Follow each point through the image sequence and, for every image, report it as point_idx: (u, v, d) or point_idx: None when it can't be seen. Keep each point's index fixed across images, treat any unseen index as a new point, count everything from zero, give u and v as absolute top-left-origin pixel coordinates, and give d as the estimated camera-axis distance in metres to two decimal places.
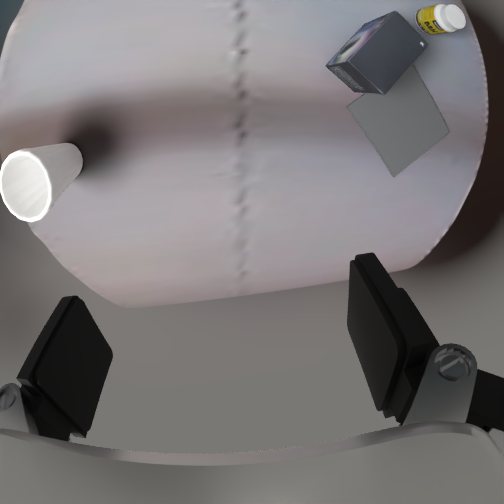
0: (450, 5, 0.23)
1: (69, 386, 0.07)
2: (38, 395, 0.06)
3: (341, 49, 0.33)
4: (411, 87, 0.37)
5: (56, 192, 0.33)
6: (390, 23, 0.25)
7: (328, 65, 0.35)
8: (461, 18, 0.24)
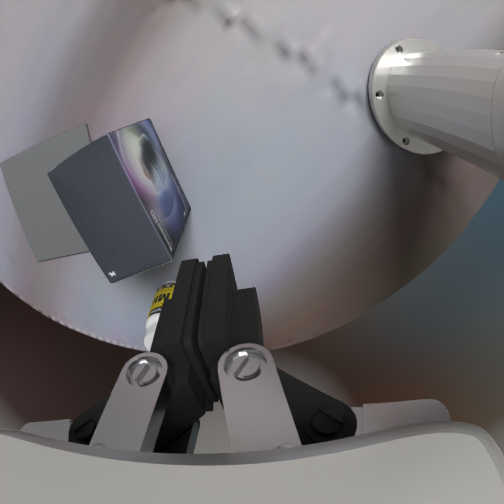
0: None
1: None
2: (183, 362, 0.07)
3: (158, 148, 0.25)
4: None
5: None
6: (151, 239, 0.21)
7: (145, 120, 0.25)
8: None
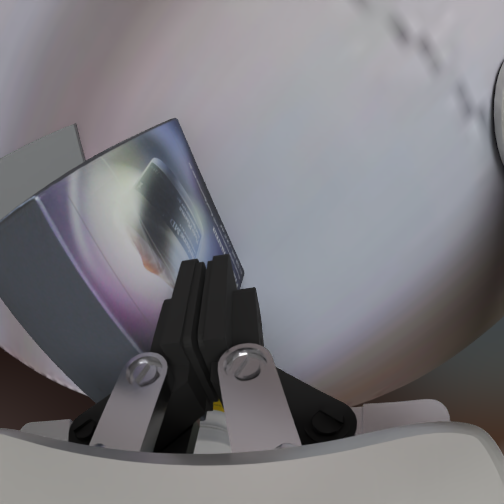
0: (230, 451, 0.19)
1: None
2: (183, 362, 0.07)
3: (187, 181, 0.14)
4: None
5: None
6: None
7: (166, 123, 0.13)
8: None
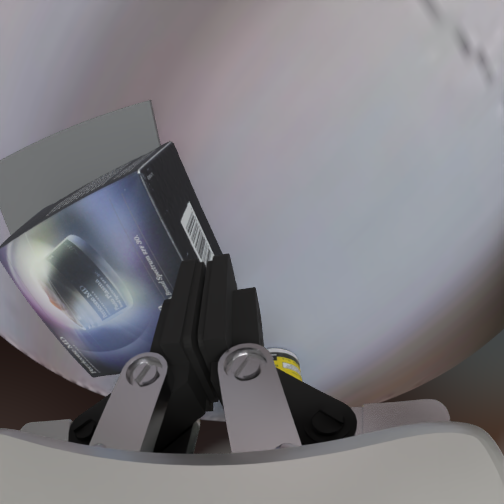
0: None
1: None
2: (183, 362, 0.07)
3: (120, 258, 0.12)
4: None
5: None
6: None
7: (112, 184, 0.11)
8: None
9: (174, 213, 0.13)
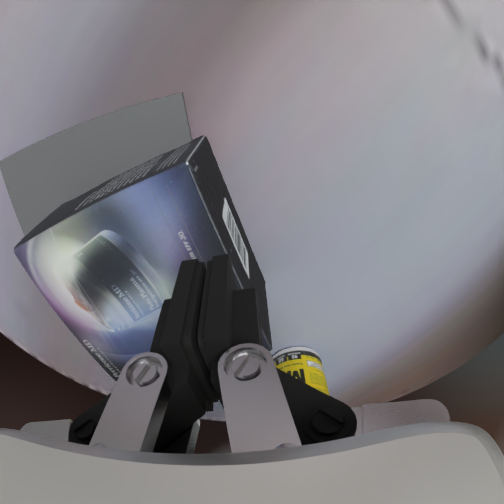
0: None
1: None
2: (183, 362, 0.07)
3: (161, 255, 0.12)
4: None
5: None
6: None
7: (156, 175, 0.10)
8: None
9: (217, 208, 0.13)
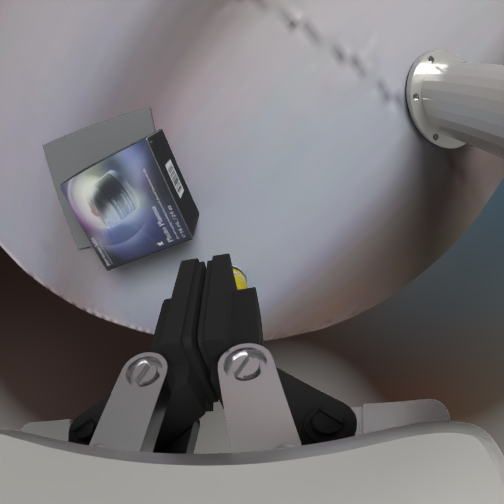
0: None
1: None
2: (183, 362, 0.07)
3: (135, 180, 0.25)
4: None
5: None
6: None
7: (134, 144, 0.23)
8: None
9: (162, 160, 0.26)
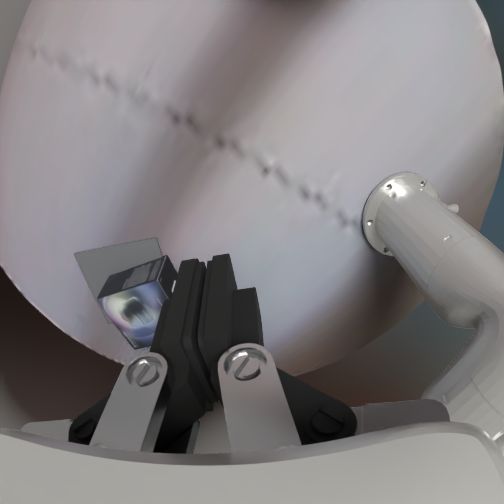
0: None
1: None
2: (183, 362, 0.07)
3: (152, 304, 0.37)
4: None
5: None
6: None
7: (148, 283, 0.36)
8: None
9: (169, 289, 0.38)
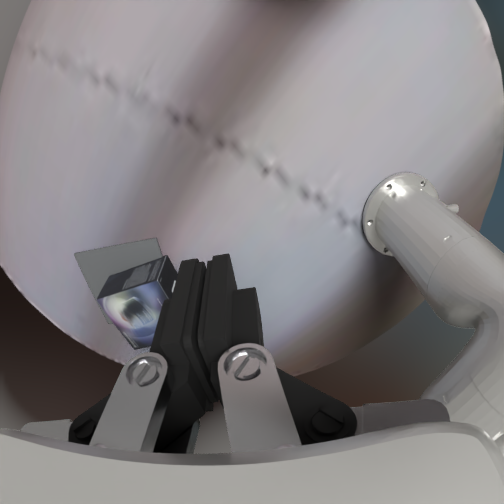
0: None
1: None
2: (183, 362, 0.07)
3: (152, 304, 0.37)
4: None
5: None
6: None
7: (148, 283, 0.36)
8: None
9: (169, 289, 0.38)
